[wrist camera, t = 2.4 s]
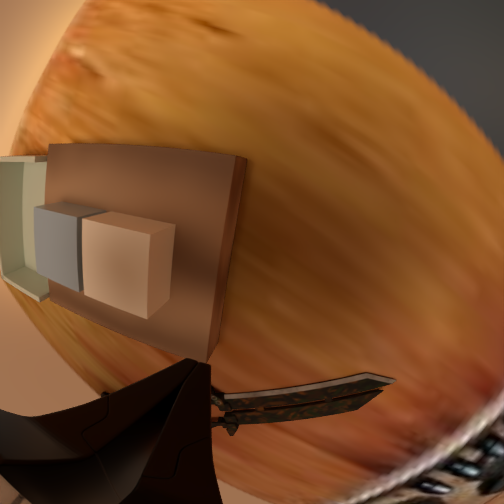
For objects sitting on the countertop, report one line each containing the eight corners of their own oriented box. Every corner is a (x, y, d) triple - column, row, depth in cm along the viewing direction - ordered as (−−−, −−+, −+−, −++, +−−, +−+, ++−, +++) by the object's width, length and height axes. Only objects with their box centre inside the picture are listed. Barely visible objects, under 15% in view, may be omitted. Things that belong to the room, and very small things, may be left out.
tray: (66, 287, 24) (39, 302, 20) (26, 267, 25) (1, 278, 21) (67, 155, 20) (35, 156, 16) (25, 155, 21) (-3, 156, 17)
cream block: (169, 298, 18) (147, 319, 15) (110, 279, 19) (84, 294, 16) (175, 224, 16) (150, 234, 14) (111, 211, 17) (82, 218, 14)
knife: (394, 362, 20) (398, 372, 18) (390, 412, 21) (392, 422, 20) (133, 377, 26) (127, 385, 24) (156, 419, 27) (151, 427, 26)
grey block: (105, 277, 19) (79, 292, 16) (62, 261, 19) (36, 272, 16) (106, 210, 17) (76, 217, 14) (61, 201, 18) (33, 206, 15)
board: (217, 342, 22) (205, 364, 19) (70, 289, 24) (50, 300, 21) (247, 159, 18) (235, 155, 15) (73, 144, 20) (49, 144, 17)
